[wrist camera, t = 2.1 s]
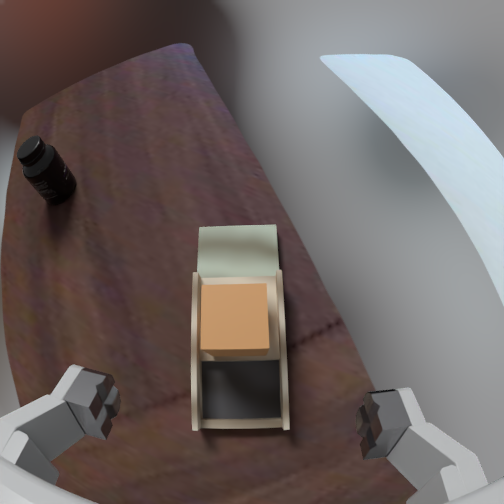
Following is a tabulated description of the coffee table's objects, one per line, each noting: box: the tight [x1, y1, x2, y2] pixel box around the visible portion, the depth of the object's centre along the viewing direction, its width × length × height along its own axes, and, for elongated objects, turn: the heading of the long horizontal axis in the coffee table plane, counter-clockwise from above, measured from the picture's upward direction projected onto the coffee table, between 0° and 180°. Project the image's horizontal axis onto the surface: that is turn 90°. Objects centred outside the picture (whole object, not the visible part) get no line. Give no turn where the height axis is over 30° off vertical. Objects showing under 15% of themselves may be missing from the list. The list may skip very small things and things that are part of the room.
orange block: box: [201, 283, 269, 356], centre depth 30 cm, size 6×6×8 cm
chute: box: [191, 225, 290, 431], centre depth 34 cm, size 25×10×4 cm, turn 2°
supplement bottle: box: [17, 136, 76, 205], centre depth 39 cm, size 7×7×12 cm
